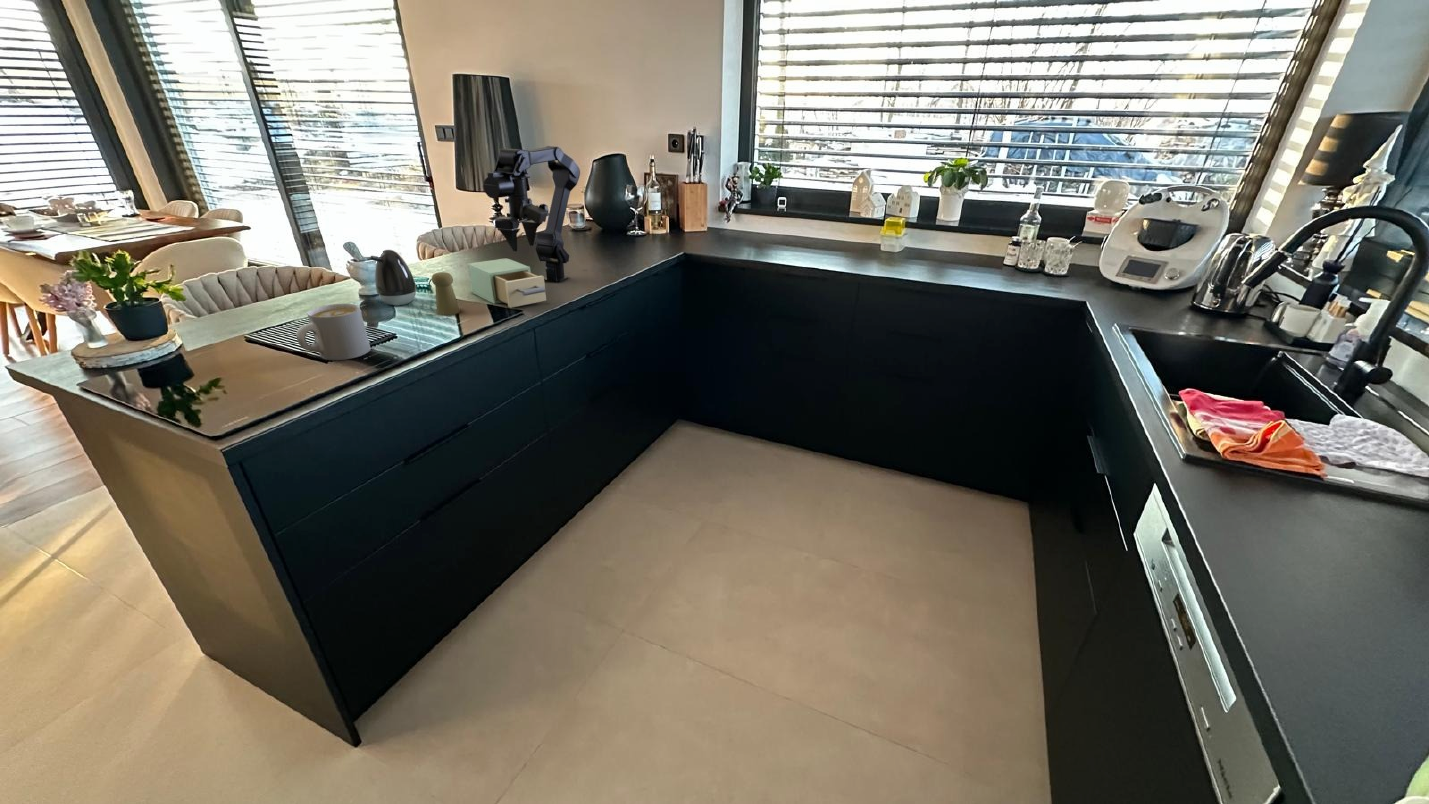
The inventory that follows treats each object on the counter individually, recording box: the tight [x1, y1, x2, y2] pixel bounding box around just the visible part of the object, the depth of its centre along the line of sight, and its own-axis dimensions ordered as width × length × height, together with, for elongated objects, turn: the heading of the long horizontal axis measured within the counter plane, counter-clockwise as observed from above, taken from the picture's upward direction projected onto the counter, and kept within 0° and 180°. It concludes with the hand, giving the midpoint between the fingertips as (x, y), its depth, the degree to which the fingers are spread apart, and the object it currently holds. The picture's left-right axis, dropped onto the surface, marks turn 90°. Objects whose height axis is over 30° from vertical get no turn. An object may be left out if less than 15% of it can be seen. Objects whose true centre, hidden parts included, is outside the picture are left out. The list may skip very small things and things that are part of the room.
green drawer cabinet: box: [467, 257, 532, 305], centre depth 170 cm, size 15×13×9 cm
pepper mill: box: [431, 271, 461, 316], centre depth 153 cm, size 6×6×11 cm
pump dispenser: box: [369, 249, 418, 306], centre depth 157 cm, size 10×10×15 cm
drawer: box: [493, 271, 547, 309], centre depth 163 cm, size 18×11×7 cm, turn 45°
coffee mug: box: [296, 303, 372, 361], centre depth 124 cm, size 13×10×10 cm
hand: (523, 248), depth 172 cm, fingers open, 9 cm apart
